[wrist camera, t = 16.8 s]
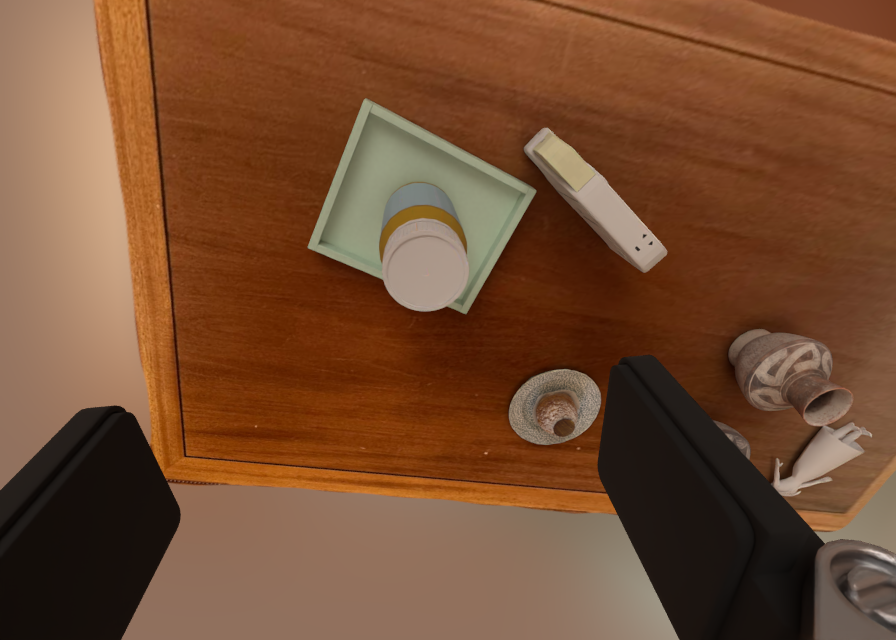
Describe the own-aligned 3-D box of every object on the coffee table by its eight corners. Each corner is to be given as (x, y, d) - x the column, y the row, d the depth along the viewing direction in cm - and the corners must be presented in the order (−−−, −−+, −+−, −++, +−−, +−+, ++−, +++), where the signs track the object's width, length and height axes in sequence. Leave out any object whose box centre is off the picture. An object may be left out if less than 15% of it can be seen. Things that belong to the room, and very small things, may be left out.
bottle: (443, 257, 47) (458, 325, 34) (377, 240, 46) (366, 305, 32) (463, 191, 44) (489, 239, 31) (393, 171, 43) (388, 211, 29)
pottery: (808, 330, 57) (901, 386, 46) (685, 468, 66) (738, 540, 56) (742, 299, 54) (825, 352, 43) (623, 448, 63) (667, 521, 53)
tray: (311, 240, 46) (307, 248, 44) (366, 98, 40) (364, 98, 38) (463, 305, 51) (466, 314, 49) (531, 185, 45) (537, 190, 43)
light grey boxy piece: (535, 126, 44) (630, 230, 48) (514, 148, 45) (609, 249, 49) (559, 123, 34) (678, 256, 38) (531, 152, 35) (651, 279, 39)
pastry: (500, 437, 60) (507, 463, 56) (515, 362, 55) (524, 385, 51) (585, 439, 62) (598, 464, 58) (608, 366, 56) (624, 388, 52)
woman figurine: (902, 450, 62) (799, 526, 70) (873, 426, 65) (779, 501, 74) (845, 426, 59) (744, 509, 67) (819, 403, 62) (727, 484, 70)
